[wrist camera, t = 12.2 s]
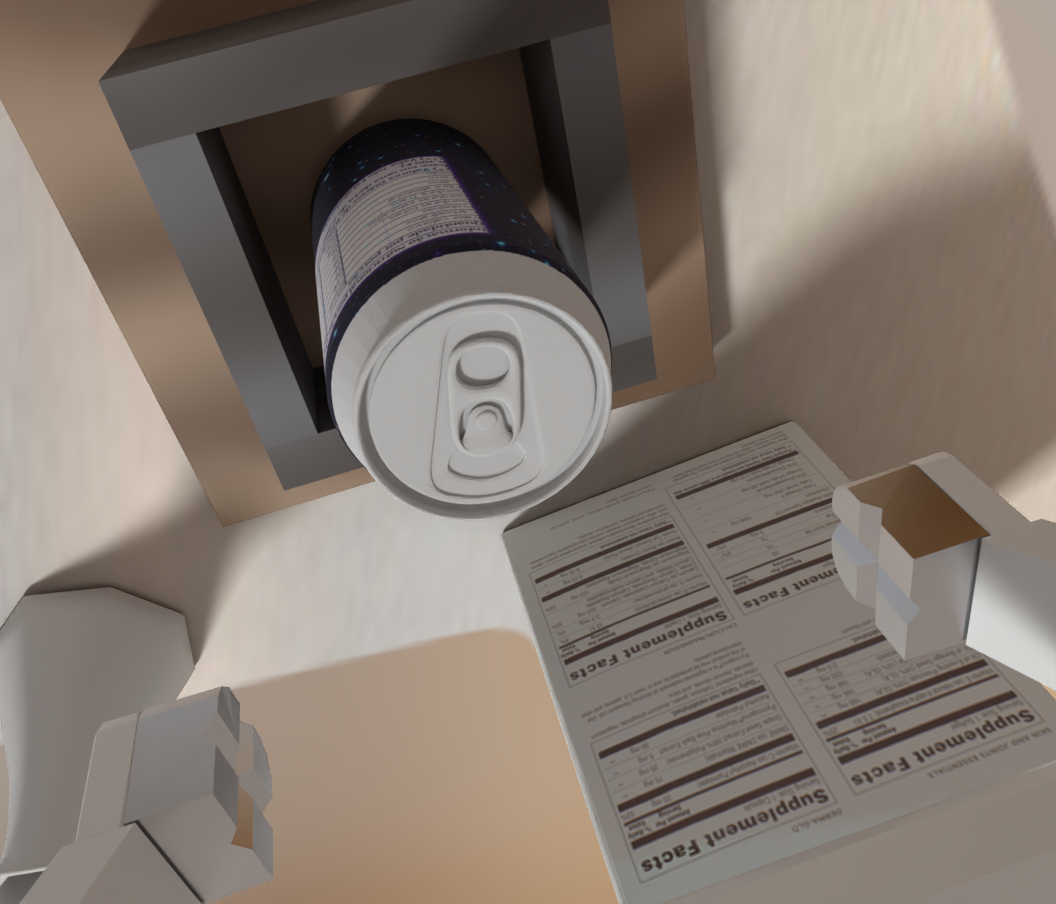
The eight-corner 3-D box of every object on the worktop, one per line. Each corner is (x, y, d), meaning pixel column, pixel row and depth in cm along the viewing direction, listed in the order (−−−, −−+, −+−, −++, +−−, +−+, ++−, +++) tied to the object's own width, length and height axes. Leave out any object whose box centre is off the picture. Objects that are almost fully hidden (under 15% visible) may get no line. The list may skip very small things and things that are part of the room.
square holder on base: (-65, -70, 21) (-156, -54, 17) (641, -240, 23) (730, -267, 18) (225, 501, 32) (216, 605, 27) (699, 359, 33) (764, 436, 29)
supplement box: (827, 627, 43) (1095, 997, 29) (575, 727, 43) (723, 1151, 29) (798, 411, 36) (1143, 771, 21) (491, 531, 35) (636, 978, 21)
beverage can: (323, 310, 27) (349, 558, 17) (295, 117, 24) (307, 286, 14) (505, 292, 28) (625, 515, 19) (500, 104, 25) (642, 254, 15)
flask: (214, 595, 34) (195, 824, 26) (177, 725, 37) (150, 967, 29) (-1, 567, 31) (-98, 814, 23) (-20, 711, 34) (-112, 973, 26)
